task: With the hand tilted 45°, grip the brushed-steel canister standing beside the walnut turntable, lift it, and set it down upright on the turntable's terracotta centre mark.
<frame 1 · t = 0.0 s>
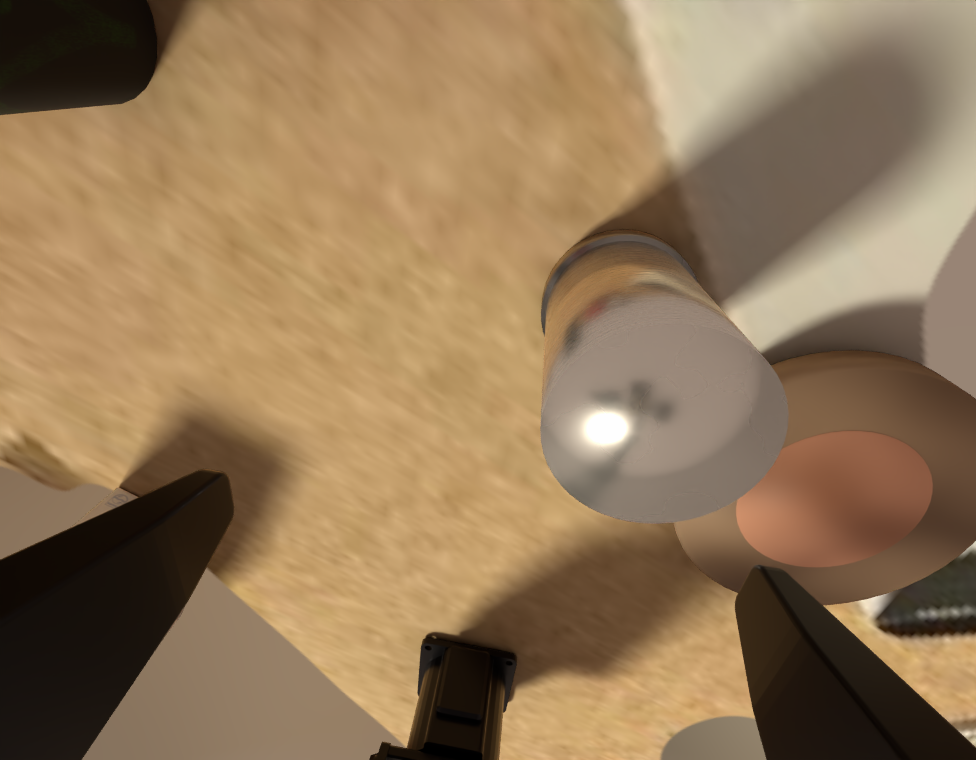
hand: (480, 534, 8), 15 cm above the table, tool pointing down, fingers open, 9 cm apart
cup: (90, 21, 19), on the table
turntable: (801, 464, 24), on the table
light bulb box: (156, 554, 33), on the table
canister: (616, 305, 21), on the table
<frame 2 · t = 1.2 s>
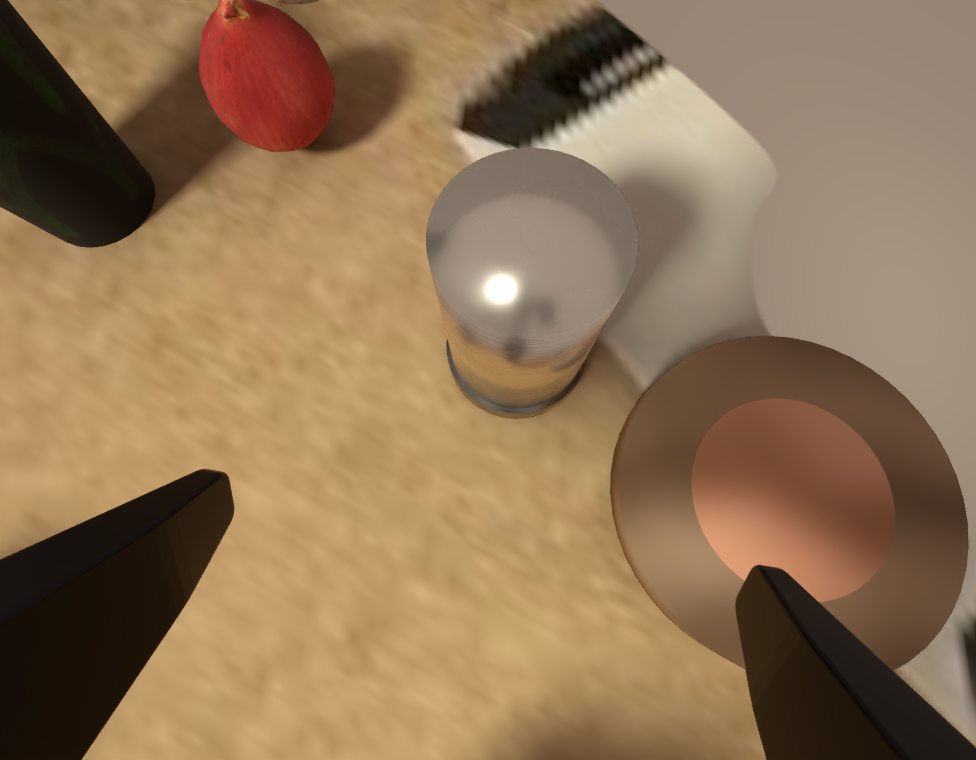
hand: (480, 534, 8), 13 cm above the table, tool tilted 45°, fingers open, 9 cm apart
cup: (104, 203, 26), on the table
onion: (300, 144, 27), on the table
turntable: (753, 498, 21), on the table
canister: (515, 352, 23), on the table
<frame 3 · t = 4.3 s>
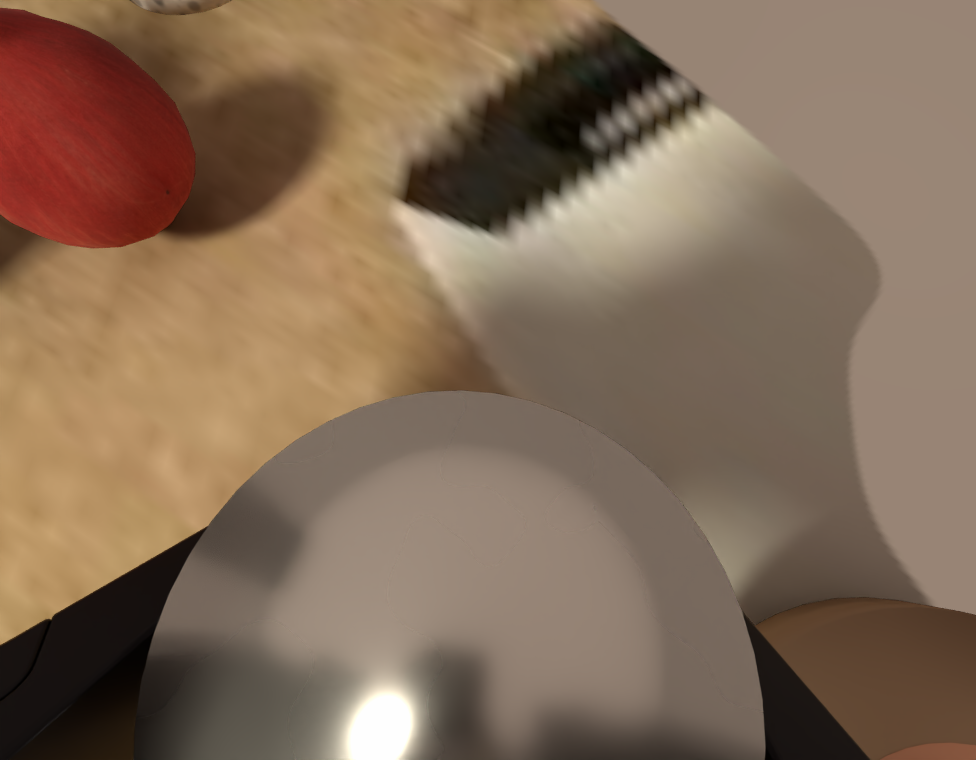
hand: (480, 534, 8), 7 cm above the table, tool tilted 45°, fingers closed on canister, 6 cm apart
onion: (163, 223, 18), on the table
canister: (477, 581, 14), on the table, touching gripper
when the fingers open (10 cm above the table, at t = 7.8 s): canister stays where it is, resting on turntable.
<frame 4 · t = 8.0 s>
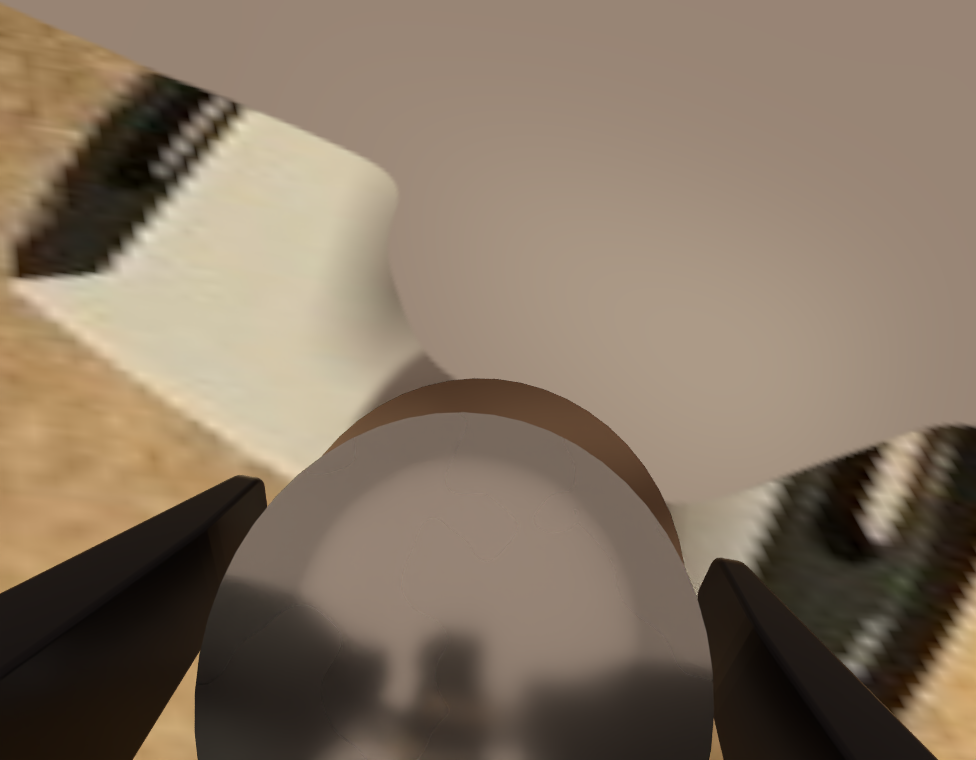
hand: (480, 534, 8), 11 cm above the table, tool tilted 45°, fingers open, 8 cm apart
turntable: (480, 569, 18), on the table
canister: (478, 580, 15), point 3 cm above the table, touching turntable
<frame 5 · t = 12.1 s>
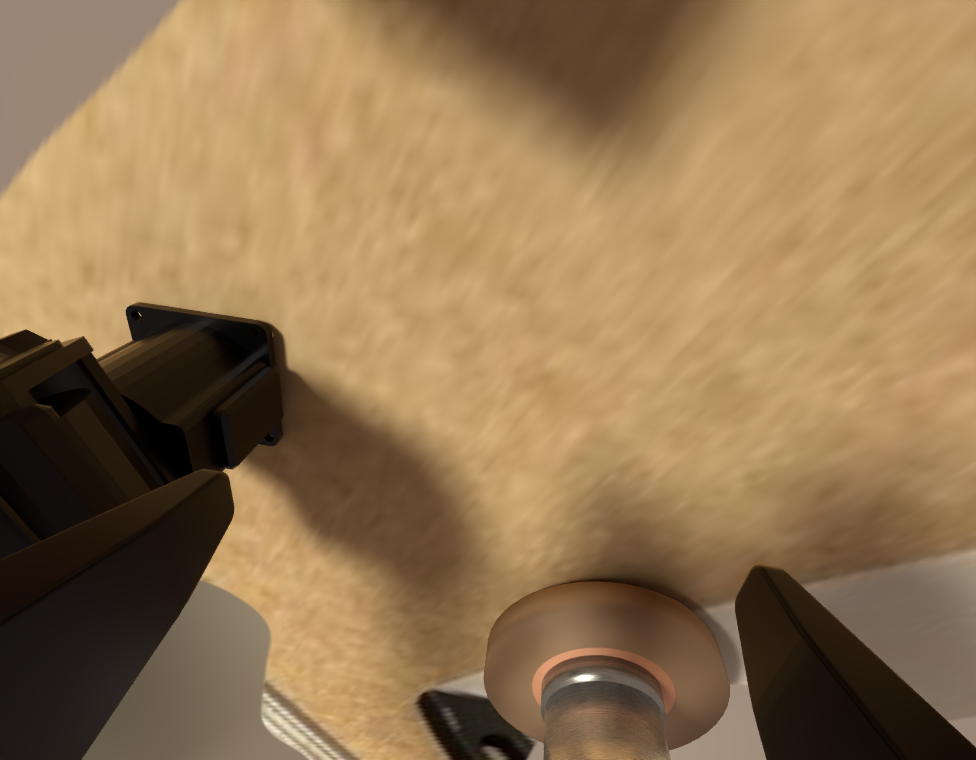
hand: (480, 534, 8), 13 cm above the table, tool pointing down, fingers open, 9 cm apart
turntable: (598, 644, 29), on the table
canister: (600, 692, 27), point 3 cm above the table, touching turntable
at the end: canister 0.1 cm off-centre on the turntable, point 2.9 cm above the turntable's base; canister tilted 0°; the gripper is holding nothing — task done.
